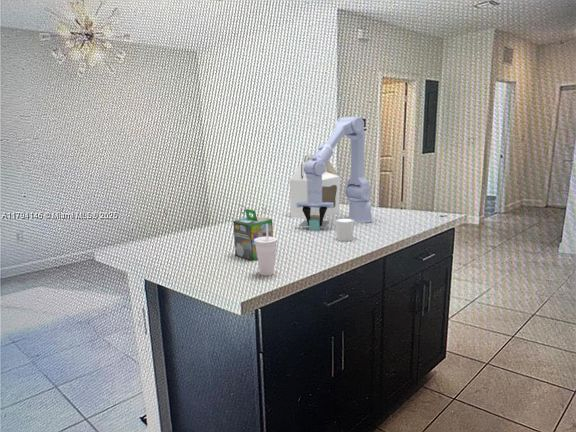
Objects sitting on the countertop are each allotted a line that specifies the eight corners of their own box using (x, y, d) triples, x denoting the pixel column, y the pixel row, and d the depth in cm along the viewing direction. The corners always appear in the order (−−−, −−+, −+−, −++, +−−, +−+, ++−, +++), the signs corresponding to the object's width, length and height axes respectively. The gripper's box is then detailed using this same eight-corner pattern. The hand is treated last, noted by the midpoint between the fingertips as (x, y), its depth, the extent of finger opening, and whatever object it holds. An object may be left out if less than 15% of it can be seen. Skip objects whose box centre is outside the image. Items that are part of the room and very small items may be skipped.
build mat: (329, 221, 174) (329, 221, 174) (325, 227, 164) (325, 226, 164) (304, 221, 177) (304, 220, 177) (298, 226, 166) (298, 225, 166)
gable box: (314, 221, 176) (314, 156, 171) (290, 218, 184) (288, 155, 179) (339, 212, 194) (340, 153, 188) (316, 210, 202) (315, 153, 196)
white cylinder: (331, 238, 147) (331, 219, 146) (346, 235, 150) (347, 217, 149) (342, 242, 141) (342, 223, 140) (358, 240, 144) (358, 220, 143)
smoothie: (272, 278, 108) (271, 227, 105) (251, 275, 110) (248, 225, 107) (281, 270, 114) (280, 221, 111) (261, 268, 116) (259, 220, 113)
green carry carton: (274, 254, 129) (273, 208, 126) (252, 261, 123) (250, 213, 120) (256, 249, 136) (254, 205, 133) (234, 255, 129) (231, 209, 127)
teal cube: (320, 228, 162) (320, 218, 161) (319, 230, 158) (319, 220, 157) (311, 227, 163) (310, 218, 162) (309, 230, 159) (309, 220, 158)
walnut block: (321, 222, 172) (321, 215, 171) (319, 224, 167) (319, 217, 167) (309, 221, 173) (309, 215, 173) (307, 224, 168) (307, 217, 168)
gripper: (294, 192, 155) (294, 227, 158) (331, 193, 152) (331, 228, 154) (298, 190, 162) (298, 223, 165) (334, 190, 158) (334, 224, 161)
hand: (315, 225), depth 160 cm, fingers closed on teal cube, 4 cm apart
